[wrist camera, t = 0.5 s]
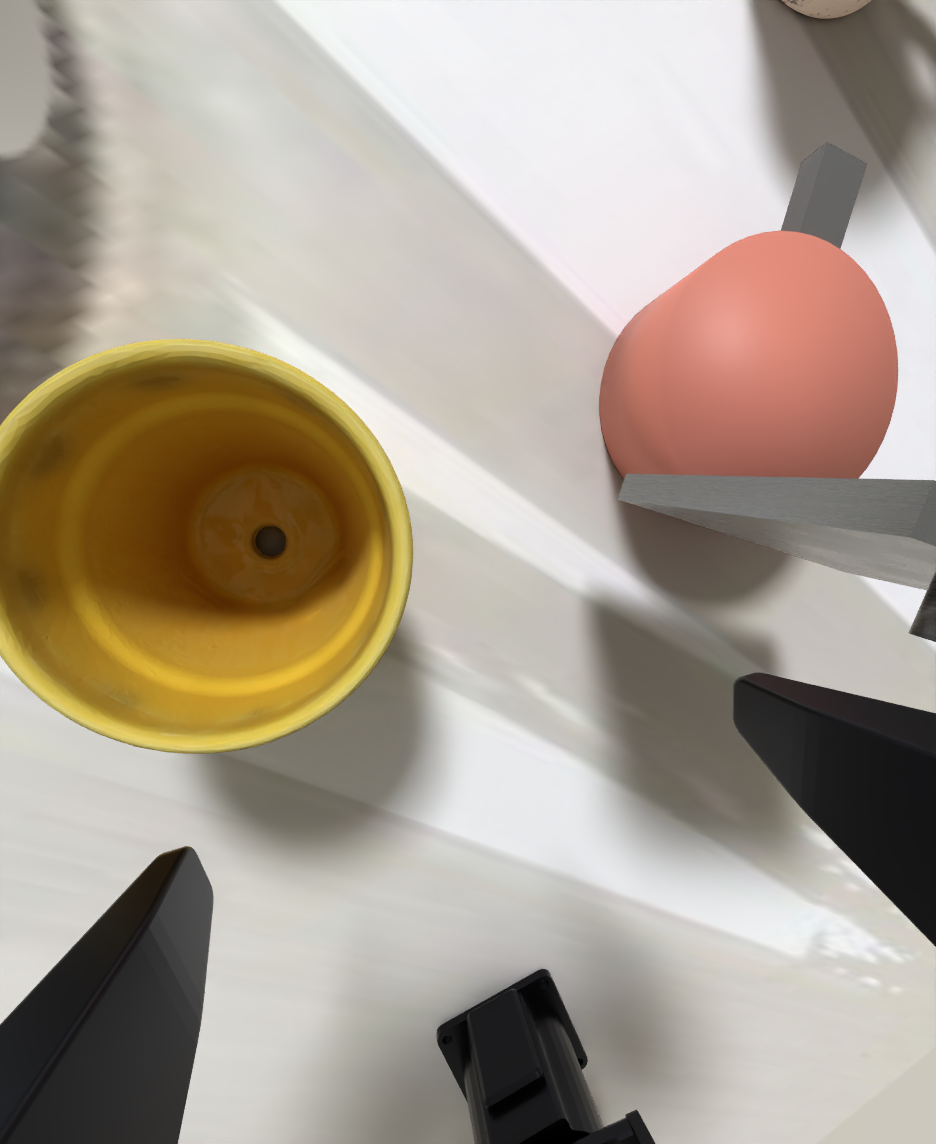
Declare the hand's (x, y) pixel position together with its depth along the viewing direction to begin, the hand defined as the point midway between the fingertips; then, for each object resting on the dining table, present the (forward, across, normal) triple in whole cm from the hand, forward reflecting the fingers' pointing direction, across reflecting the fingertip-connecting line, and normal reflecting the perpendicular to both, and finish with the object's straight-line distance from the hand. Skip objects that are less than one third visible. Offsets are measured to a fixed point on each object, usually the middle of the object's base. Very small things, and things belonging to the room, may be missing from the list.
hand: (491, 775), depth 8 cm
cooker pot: (+17, -17, -5) cm, 24 cm away
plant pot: (+16, +5, -1) cm, 17 cm away
